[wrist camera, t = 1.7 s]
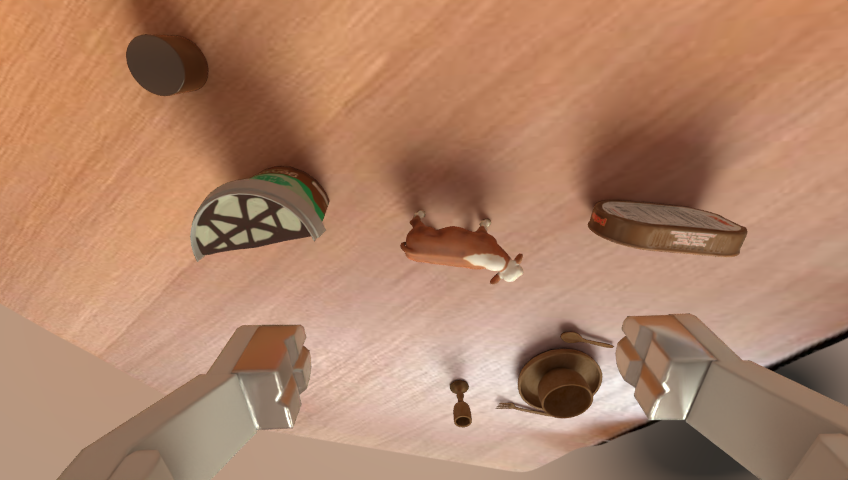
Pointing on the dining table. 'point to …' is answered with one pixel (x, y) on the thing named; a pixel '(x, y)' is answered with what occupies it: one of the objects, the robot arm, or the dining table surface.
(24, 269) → the dining table surface
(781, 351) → the dining table surface
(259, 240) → the food container
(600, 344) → the place setting
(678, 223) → the tin
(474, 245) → the bull figurine
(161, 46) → the brown cylinder
